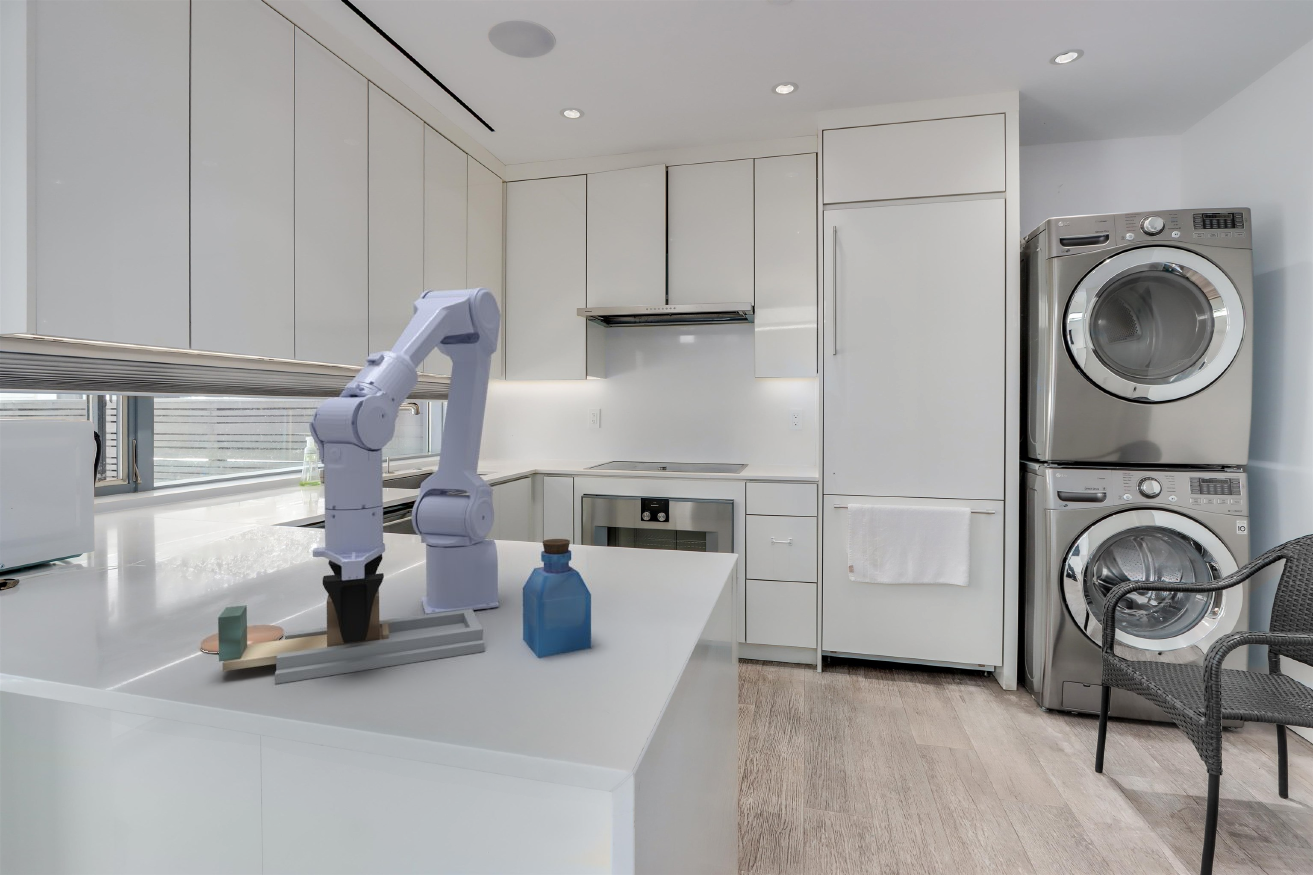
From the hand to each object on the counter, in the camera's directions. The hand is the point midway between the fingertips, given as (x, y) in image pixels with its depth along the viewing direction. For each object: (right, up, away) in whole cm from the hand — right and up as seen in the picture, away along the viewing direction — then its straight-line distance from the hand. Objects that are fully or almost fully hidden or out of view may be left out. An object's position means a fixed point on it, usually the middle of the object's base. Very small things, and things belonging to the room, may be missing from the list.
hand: (355, 629), depth 67 cm
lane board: (+3, -3, +1) cm, 4 cm away
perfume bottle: (+22, -3, +4) cm, 22 cm away
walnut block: (0, -1, 0) cm, 1 cm away
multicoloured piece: (-4, -2, -2) cm, 5 cm away
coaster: (-15, -3, +4) cm, 16 cm away
